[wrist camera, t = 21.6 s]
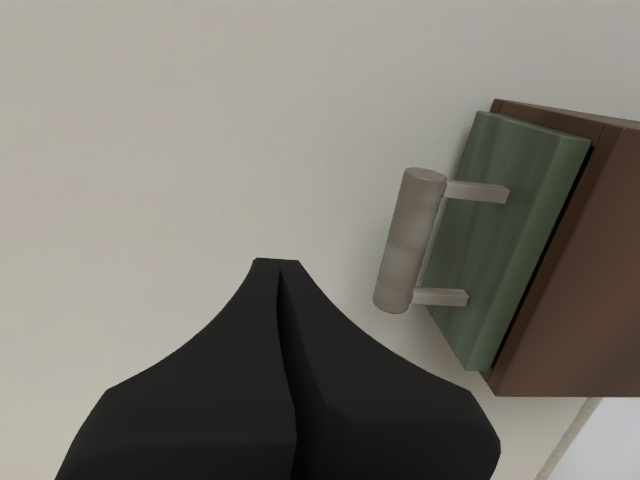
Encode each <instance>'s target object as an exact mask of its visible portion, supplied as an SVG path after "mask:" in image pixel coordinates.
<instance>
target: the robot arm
mask: <svg viewBox="0 0 640 480" xmlns="http://www.w3.org/2000/svg"><path fill="white" fill-rule="evenodd" d="M500 454H501V448H500V440H499V438H498V436H497V434H496V432H495V430H494V428H493V427H492V425H491V423H490V422H489V420H488V418H487V417H486V415H485V413H484V411H483V410H482V408H481V407H480V405H479V404H478V402H477V401H476V399H475V397H474V396H473V395H472V393H471V392H470V391H469V390H466V389H464V388H462V387H460V386H458V385H455V384H453V383H451V382H449V381H447V380H444V379H442V378H440V377H438V376H436V375H433V374H431V373H429V372H427V371H425V370H424V369H422V368H420V367H418V366H416V365H414V364H413V363H411V362H409V361H407V360H405V359H404V358H402V357H400V356H399V355H397V354H395V353H394V352H392V351H391V350H389V349H388V348H386V347H385V346H383V345H382V344H380V343H379V342H377V341H376V340H375V339H373V338H372V337H370V336H369V335H368V334H366V333H365V332H364V331H363V330H361V329H360V328H359V327H358V326H357V325H355V324H354V323H353V322H352V321H351V320H349V319H348V318H347V317H346V316H345V315H344V314H343V313H342V312H341V311H340V310H339V309H338V308H337V307H336V306H335V305H334V304H333V303H332V302H331V301H330V300H329V299H328V298H327V296H326V295H325V294H324V293H323V292H322V291H321V289H320V288H319V287H318V286H317V285H316V283H315V282H314V281H313V279H312V278H311V277H310V275H309V274H308V273H307V271H306V270H305V269H304V267H303V266H302V265H301V263H300V262H299V261H298V260H285V259H270V258H256V259H255V260H253V263H252V266H251V268H250V271H249V273H248V274H247V276H246V278H245V280H244V281H243V283H242V284H241V286H240V287H239V289H238V290H237V292H236V293H235V294H234V296H233V297H232V298H231V299H230V301H229V302H228V303H227V304H226V305H225V307H224V308H223V309H222V310H221V311H220V312H219V313H218V315H217V316H216V317H215V318H214V319H213V320H212V321H211V322H210V323H209V324H208V325H207V326H206V327H204V328H203V329H202V330H201V331H200V332H199V333H198V334H196V335H195V336H194V337H193V338H192V339H190V340H189V341H188V342H187V343H185V344H184V345H183V346H182V347H180V348H179V349H177V350H176V351H175V352H173V353H172V354H170V355H169V356H167V357H166V358H164V359H163V360H161V361H160V362H158V363H156V364H155V365H153V366H151V367H150V368H148V369H146V370H144V371H142V372H140V373H139V374H137V375H135V376H133V377H131V378H129V379H127V380H125V381H123V382H121V383H119V384H118V385H116V386H113V387H111V388H109V389H107V390H106V391H105V393H104V394H103V395H102V397H101V398H100V399H99V401H98V402H97V404H96V405H95V407H94V408H93V410H92V411H91V412H90V414H89V416H88V417H87V419H86V420H85V422H84V423H83V425H82V426H81V428H80V429H79V431H78V433H77V435H76V436H75V438H74V440H73V442H72V444H71V446H70V448H69V450H68V452H67V454H66V457H65V459H64V461H63V463H62V465H61V467H60V469H59V471H58V474H57V476H56V478H55V480H490V478H491V476H492V474H493V472H494V471H495V468H496V465H497V463H498V460H499V457H500Z"/></svg>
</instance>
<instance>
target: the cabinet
mask: <svg viewBox="0 0 640 480" xmlns="http://www.w3.org/2000/svg"><path fill="white" fill-rule="evenodd" d="M490 113H496V114H501V115H505V116H508V117H512V118H515V119H519V120H522V121H526V122H530V123H533V124H537V125H540V126H544V127H547V128H551V129H554V130H558V131H561V132H565V133H569V134H572V135H576V136H579V137H583V138H586V139H590V140H591V141H592V142H591V145H590V146H593V147H595V148H594V150H593V152H592V154H591V157H590V159H589V161H588V163H587V165H586V167H585V170H584V172H583V174H582V176H581V178H580V181H579V183H578V185H577V187H576V189H575V191H574V194H573V196H572V198H571V200H570V202H569V205H568V207H567V209H566V211H565V213H564V216H563V218H562V220H561V222H560V224H559V226H558V229H557V231H556V233H555V235H554V237H553V240H552V242H551V244H550V246H549V248H548V250H547V253H546V255H545V257H544V259H543V261H542V264H541V266H540V268H539V270H538V272H537V274H536V277H535V279H534V281H533V283H532V285H531V288H530V290H529V292H528V294H527V296H526V299H525V301H524V303H523V305H522V307H521V309H520V312H519V314H518V316H517V318H516V320H515V323H514V325H513V327H512V329H511V331H510V333H509V336H508V338H507V340H506V342H505V341H504V339H503V340H502V342H501V344H500V346H499V348H498V351H497V353H496V355H495V357H494V359H493V362H492V364H491V366H490V368H489V370H488V371H479V373H480V374H481V376H482V377H483V379H484V380H485V382H487V385H488V386H489V388H490V389H491V391H492V392H493V394H494V395H495V396H497V397H640V122H638V121H632V120H626V119H619V118H613V117H607V116H601V115H595V114H588V113H582V112H576V111H570V110H564V109H557V108H551V107H545V106H539V105H533V104H526V103H520V102H514V101H508V100H502V99H494V102H493V105H492V108H491V111H490Z"/></svg>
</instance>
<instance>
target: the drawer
mask: <svg viewBox="0 0 640 480" xmlns="http://www.w3.org/2000/svg"><path fill="white" fill-rule="evenodd" d="M591 142H592V141H591V140H590V139H586V138H583V137H579V136H576V135H572V134H569V133H565V132H561V131H558V130H554V129H551V128H547V127H544V126H540V125H537V124H533V123H530V122H526V121H522V120H519V119H515V118H512V117H508V116H505V115H501V114H496V113H490V112H483V111H477V113H476V116H475V119H474V122H473V126H472V129H471V132H470V135H469V138H468V142H467V145H466V148H465V151H464V154H463V157H462V161H461V164H460V167H459V170H458V173H457V177H456V180H449V179H447V178H446V177H445V176H444V175H442V174H440V173H438V172H435V171H432V170H428V169H423V168H406V169H405V171H404V174H403V178H402V182H401V186H400V190H399V194H398V198H397V202H396V206H395V210H394V214H393V218H392V222H391V226H390V230H389V234H388V238H387V242H386V246H385V250H384V254H383V258H382V262H381V266H380V270H379V274H378V278H377V282H376V286H375V290H374V294H373V298H372V299H373V303H374V304H375V306H376V307H378V308H379V309H381V310H382V311H385V312H388V313H392V314H401V313H404V312H405V311H406V310H407V309H408V306H409V303H410V304H419V305H425V307H426V308H427V310H428V312H429V313H430V315H431V316H432V318H433V320H434V321H435V323H436V324H437V326H438V328H439V329H440V331H441V333H442V334H443V336H444V337H445V339H446V341H447V342H448V344H449V345H450V347H451V349H452V350H453V352H454V354H455V355H456V357H457V358H458V360H459V362H460V363H461V365H462V366H463V368H464V370H466V371H488V370H489V368H490V366H491V364H492V362H493V359H494V357H495V355H496V353H497V351H498V348H499V346H500V344H501V342H502V340H503V339H504V341H505V342H506V340H507V338H508V336H509V333H510V331H511V329H512V327H513V325H514V323H515V320H516V318H517V316H518V314H519V312H520V309H521V307H522V305H523V303H524V301H525V299H526V296H527V294H528V292H527V291H526V290H525V289H526V286H527V284H528V282H529V280H530V278H531V275H532V273H533V271H534V269H535V266H536V264H537V262H538V260H539V258H540V255H541V253H542V251H543V249H544V247H545V244H546V242H547V240H548V238H549V236H550V233H551V231H552V229H553V227H554V224H555V222H556V220H557V218H558V216H559V213H560V211H561V209H562V207H563V205H564V202H565V200H566V198H567V196H568V193H569V191H570V189H571V187H572V185H573V182H574V180H575V178H576V176H577V175H579V176H582V174H583V172H584V170H585V167H586V165H587V163H588V161H589V159H590V157H591V154H592V152H593V150H594V148H595V147H593V146H590V145H591ZM441 197H443V198H450V199H449V202H448V205H447V209H446V212H445V215H444V218H443V221H442V225H441V228H440V231H439V234H438V237H437V240H436V244H435V247H434V250H433V253H432V256H431V260H430V263H429V266H428V269H427V272H426V276H425V279H424V282H423V285H422V287H415V283H416V280H417V277H418V273H419V270H420V267H421V263H422V260H423V257H424V254H425V250H426V247H427V244H428V240H429V237H430V234H431V230H432V227H433V224H434V221H435V217H436V214H437V211H438V207H439V204H440V201H441Z"/></svg>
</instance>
